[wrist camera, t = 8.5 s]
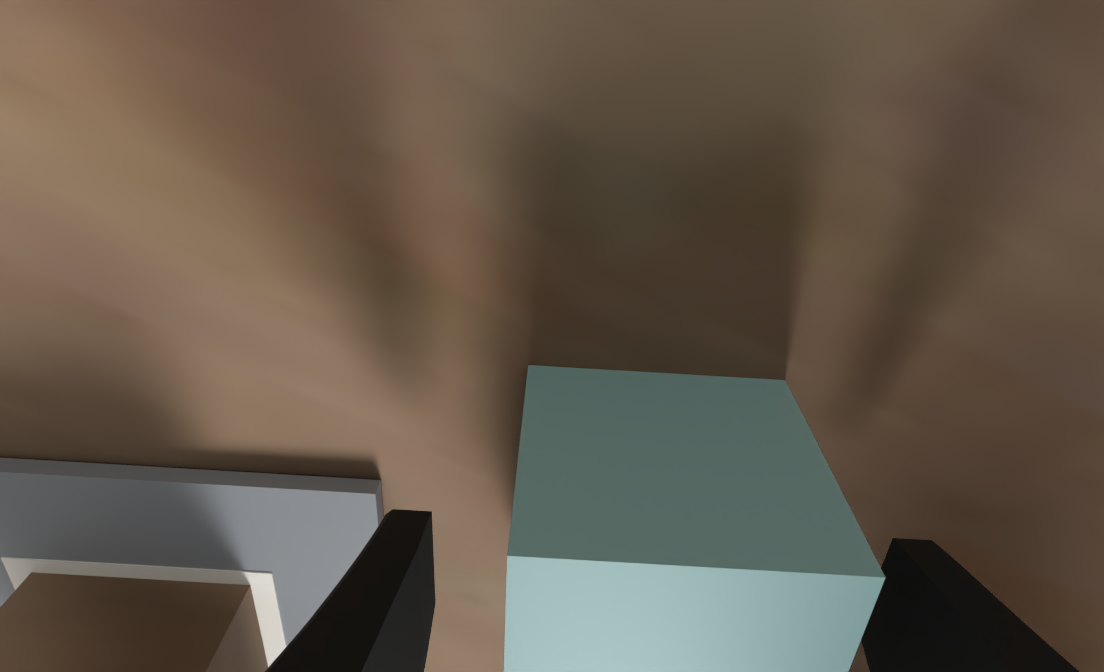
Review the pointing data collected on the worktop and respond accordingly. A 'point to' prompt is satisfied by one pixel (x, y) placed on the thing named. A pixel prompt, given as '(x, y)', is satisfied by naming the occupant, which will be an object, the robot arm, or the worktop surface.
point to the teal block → (678, 530)
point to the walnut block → (129, 626)
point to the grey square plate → (189, 531)
